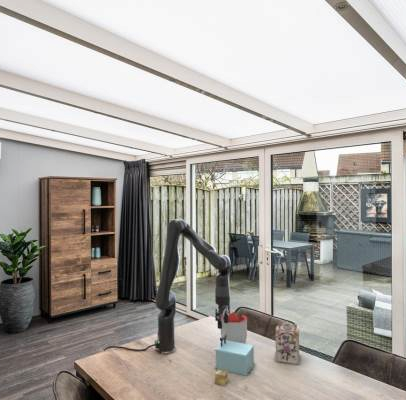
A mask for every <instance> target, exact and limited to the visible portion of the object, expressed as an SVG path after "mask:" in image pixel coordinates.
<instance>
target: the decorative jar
mask: <svg viewBox="0 0 406 400" xmlns="http://www.w3.org/2000/svg"><path fill="white" fill-rule="evenodd" d="M274 336H275V361H276V362H277V363H284V364H291V365H299V364H300V330H299V328H298V327H297V326H294V325H292V323H289V322H283V323H282V324H280V325H279V324H278V325H277V326H275V334H274Z"/></svg>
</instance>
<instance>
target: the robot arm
mask: <svg viewBox="0 0 406 400" xmlns="http://www.w3.org/2000/svg"><path fill="white" fill-rule="evenodd" d="M180 236H182V237H183V238H185V239H186V240H188V241H189V242H190V243H191V244H192V246H193V248H194V249H195V250H196V251H197V252H198V253H199V254H200V255H201V256H203V258H205V259H206V260H207V261H208V263H209V264H210V265H211V266H212V267H213V268H214V269H215V270H217V274H216V275H215V288H214V297H215V298H214V299H215V304H216V305H217V306H218V307H217V308H215V311H214V315H215V316H214V317H215V319H214V320H215V322H217V329H218V330H221V329H222V319H223V317H224V323H228V316H229V314H230V313H231V289H230V274H231V267H232V266H231V265H232V263H231V258H230V257H229V256H228V255H226V254H222V255H220V254H218V252H217V249H216V248H215V247H214V246H213V245H211V244H210V243H209V242H208V241H206V240H205V239H203V237H201V236H200V235H199V234H198V233H197V232H196V231H195V230H194V229H193V228H192V227H191V225H190V224H189V223H188V222H187V221H186V220H184V219H182V218H176V219H175V218H174V219H171V220H170V221H169V222H168V224H167V228H166V241H165V247H164V249H165V250H164V255H163V260H162V265H161V266H162V267H161V272H160V273H161V274H160V278H159V284H158V288H157V291H156V294H155V298H154V302H155V306H156V308H157V309H158V310H160V311H159V313H158V315H157V340H154V344H151V345H148V346H147V347H145V348H141V349H139V348H131V347H126V346H118V345H110V346H109V345H108V346H107V347H105V348H104V349H103V352H105V351H107V350H108V349H124V350H127V351H134V352H145V351H147V350H148V349H150V348H152V347H155V349H157V351H158V354H160V355H161V354H162V355H169V354H173V353H174V352H175V350H176V347H175V346H176V345H175V316H176V312H177V310H176V309H177V299H176V298H177V297H176V294H175V293H174V292H173V290H171V289H172V285H173V283H174V281H175V279H176V277H177V275H178V271H179V267H180V263H181V256H180V251H179V242H180ZM224 315H225V316H224Z"/></svg>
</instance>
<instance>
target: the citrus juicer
mask: <svg viewBox="0 0 406 400" xmlns="http://www.w3.org/2000/svg"><path fill="white" fill-rule="evenodd" d="M224 316H225V315H224ZM224 334H226V335H227V337H226V340H228V341H233V342H239V343H244V344H247V337H248V316H247V315H245V314H242V315H241V316H240V317H239V315H238V314H237V313H236V312H235V311H233V312H230V314H229V316H228V323H224V317H223V319H222V329H220V338H221V337H222V336H223V335H224Z"/></svg>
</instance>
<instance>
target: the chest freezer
mask: <svg viewBox="0 0 406 400" xmlns="http://www.w3.org/2000/svg"><path fill="white" fill-rule="evenodd" d="M254 351H255V346H254V347H253V348H252V350H251V351H250V352H249V354H248V355H247V356H246V357H244V356H239V355H234V354H230V353H225V352H220V351H215V368H216V369H217V370H218V369H220V370H224V371H228V373H234V374H238V375H243V376H248V374H249V372H250V371H251V369H252V368H253V366H254V365H255V354H254V353H255V352H254Z"/></svg>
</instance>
